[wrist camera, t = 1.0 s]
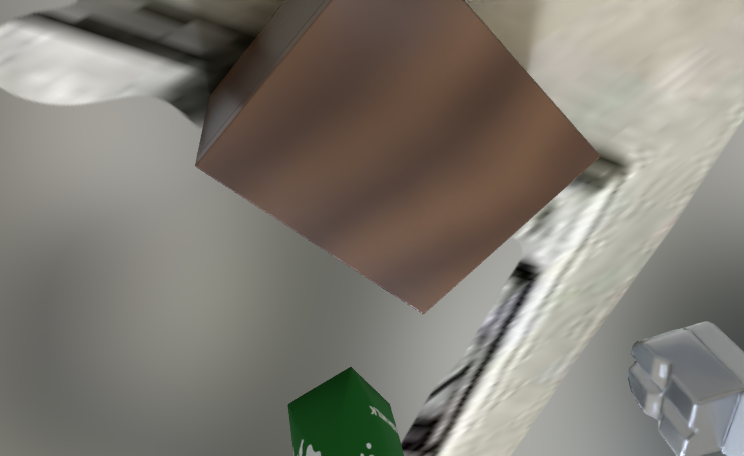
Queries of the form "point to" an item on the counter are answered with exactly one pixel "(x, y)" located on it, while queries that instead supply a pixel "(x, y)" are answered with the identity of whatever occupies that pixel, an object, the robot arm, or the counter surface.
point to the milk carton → (343, 420)
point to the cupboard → (390, 138)
